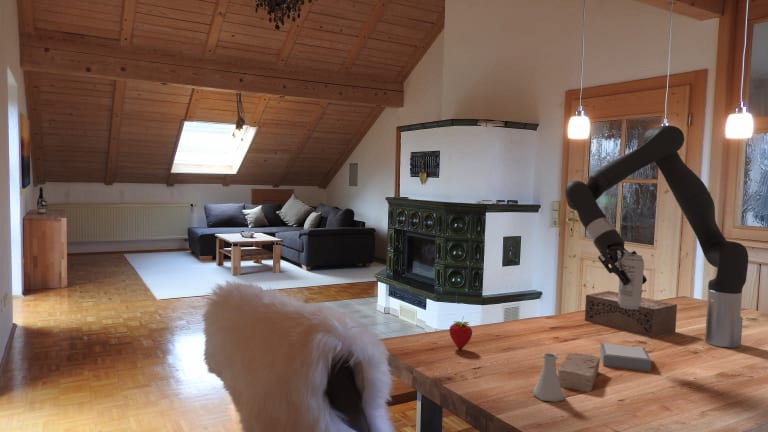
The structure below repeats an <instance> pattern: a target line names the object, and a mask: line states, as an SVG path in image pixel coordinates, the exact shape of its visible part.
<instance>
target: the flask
mask: <svg viewBox="0 0 768 432" xmlns="http://www.w3.org/2000/svg"><path fill="white" fill-rule="evenodd" d="M542 355H543V359H544V361H543V362H544V363H543V366H542V370H541V372H540V375H539V377H538V379H537V382H536V384H535V386H534V388H533V396H534V397H536V398H537V399H539V400H541V401H545V402H555V403H556V402H561V401H565V396H564V392H563V390H562V386H560V382H559V379H558V372H557V365H556V364H557V363H556V362H557V359H558V355H557V354H555V353H550V352H549V353H548V352H546V353H543V354H542Z"/></svg>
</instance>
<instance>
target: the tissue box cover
mask: <svg viewBox="0 0 768 432" xmlns="http://www.w3.org/2000/svg"><path fill="white" fill-rule="evenodd" d="M584 306H585V307H584V309H585V310H584V322H587V323H588V322H589V323H592V324H596V325H600V326H604V327H608V328H611V329H615V330H620V331H623V332H627V333H631V334H634V335H638V336H642V337H647V338H650V339H656V338H660V337H663V336H666V335H671V334H674V333H676V331H677V330H676V328H677V313H678V311H677V310H678V308H677V307H678V304H677V303H673V302H668V301H667V302H666V301H662V300H657V299H653V298H647V297H642V296H641V306H639V308H638V309H626V308H622V307H620V305H619V304H618V292H616V291H610V290H607V291H606V290H604V291H599V292H595V293H589V294H585V305H584Z"/></svg>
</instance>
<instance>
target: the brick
mask: <svg viewBox="0 0 768 432" xmlns="http://www.w3.org/2000/svg"><path fill="white" fill-rule="evenodd" d="M600 362H601V357H599V356H597V355H593V354H586V353H585V354H584V353H578V352H567V353H566V356H565V358H564V360H563V361H562V363H561V364H560V366H559V368H558V372H557V375H558V379H559V382H560V386H561V388H569V389H573V390H577V391H581V392H592V390H593V387H594V385H595V382H596V378H597V377H598V373H599V368H600Z"/></svg>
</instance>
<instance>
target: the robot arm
mask: <svg viewBox="0 0 768 432" xmlns="http://www.w3.org/2000/svg"><path fill="white" fill-rule="evenodd" d="M684 142H685V134H684V132H683V130H682V129H681V128H680V127H677V126H675V125H669V124H668V125H661V126H655V127H652V128H650V129H648V130H647V131H646V132H645V134H644V137H643V144H641V145H640V146H638V147H637V148H635V149H633V150H632V151H629V152H628V153H626V154H624V155H621V156H620V157H617V158H616V159H613V160H611V161H609V162H608V163H606V164H604V165H603V166H601V167H600V168H598V169H596V170H595V171H593V172H592V173H591V174H590V175H589V178H588V181H587V182H586V183H585V182H584V181H580V180H573V181H570V182H569V183H568V184H567V186H566V187H565V190H564V192H565V199H566V203H567V206H568V207H569V208H570V209H571V210H573V211H576V212H577V215H578V219H579V221H580V222H581V224H582V226H583V228H584V229H585V230H586V232H587V235H588V237H589V238H590V241H592V243H593V244H594V246H595V247H596V249H597V250H598V252H599V253H600V254H599V255H598V257H597V259H598V260H599V261H600V263H601V264H602V266H603V267H604V268H605V270H606V271H607V273H609V274H614V275H615V276H617V277H618V279H620V280H621V282H622V283H623V285H628V284H629V283H630V282H631V280H630V279H629V277H628V276H627V274H626V273H625V271H622V270H623V268H622V265H621V264H622V262H621V259H622V258H623V256H624V254H636V255H638V254H637V253H638V252H636V250H633V251H631V252H629V250H627V249H626V248H625V240H624V239H623V237H622V235H620V233H619V231H618V230H617V229H616V227H615V226H614V224H613V223H612V222H611V220H609V218H608V217H607V215H606V214H605V213H604V211H603V210H602V208H600V206H599V204H598V202H597V200H598V199H599V198H600V197H601V196H602V195H603V194H604V193H605V192H606V191H609V190H610V189H611V188H613V187H615V186H616V185H618V184H620V183H621V182H622V181H624V180H626V179H628V178H629V177H631V176H632V175H634V174H635V173H637V172H639V171H640V170H642V169H643V168H646V167H647V166H649V165H651V164H653V163H655V165H656V166H657V167H658V169H659V171H660V172H661V175H662V176H663V179H664V181H666V183H667V186H668V187H669V189H670V191H671V193H672V194H673V197H674V198H675V200H676V202H677V204H678V206H679V208H680V210H681V211H682V213H683V215H684V217H685V218H686V220H687V222H688V223H689V225H690V227H691V228H692V231H693V232H694V234H695V237H696V238H697V242H698V243H699V246H700V248H701V251H702V253H703V256H704V257H705V259H706V261H707V263H708V264H710V266H712V267H714V268H717V271H716V276H715V277H714V278H713V279H710V280H709V281H708V284H707V300H706V301H707V302H706V315H705V316H706V318H705V332H704V337H705V338H704V342H705V343H706V344H708V345H712V346H716V347H721V348H729V349H730V348H731V349H732V348H742V337H743V333H742V332H743V317H742V316H741V314H742V302H743V301H742V300H743V299H742V298H743V288H744V286H745V284H746V282H747V275H748V270H749V269H748V266H749V253H748V250H747V248H746V246H745V245H744V244H742V243H739V242H737V241H731V240H727V238H725V236H724V235H723V233H722V231H721V230H720V228H719V226H718V224H717V222H716V207H715V201H714V199H713V197H712V195H711V194H710V191H709V189H708V187H707V186H706V184H705V183H704V182H703V180H702V179H701V178H700V177H699V176H698V175H697V174H696V173H695V172H694V171H693V170H692V169H690V167H689V166H688V165H687V164H686V163H685V162H684V161H683V159H682V158H681V156H680V154H679V152H678V151H679V150H681V148H682V147H683V146H684ZM647 281H648V279H647V278H646V276H645V274H644V273H643V283H642V285H644V284H645V283H646V282H647Z"/></svg>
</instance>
